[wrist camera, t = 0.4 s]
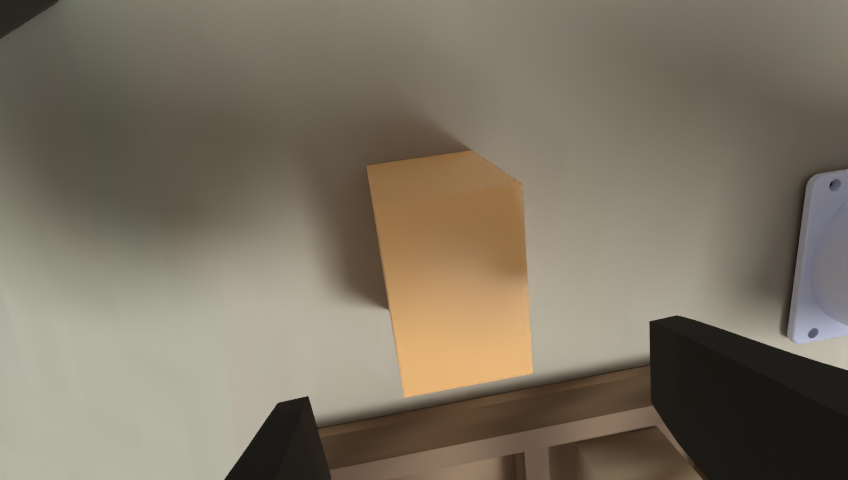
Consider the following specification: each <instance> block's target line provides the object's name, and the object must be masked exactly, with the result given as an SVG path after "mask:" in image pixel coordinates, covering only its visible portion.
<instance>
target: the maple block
mask: <svg viewBox="0 0 848 480" xmlns="http://www.w3.org/2000/svg"><path fill="white" fill-rule="evenodd" d="M576 474H577V480H703V479H702V478H701V477H700V476H699V475H698V473H697V472H696V471H695V470H694V469H693V468H692V466H691V465H690V464H689V463H688V462H687V461H686V459H685V458H684V457H683V456H682V455H681V454H680V452H679V451H678V450H677V449H676V448H675V447H674V446H673V444H672V443H671V442H670V441H669V440H668V439H667V437H666V436H665V435H664V434H663V433H662V432H661V430H660V429H659V428H658V427H654V428H649V429H644V430H639V431H634V432H629V433H624V434H619V435H614V436H610V437H605V438H600V439H595V440H590V441H585V442H580V443H576Z"/></svg>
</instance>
